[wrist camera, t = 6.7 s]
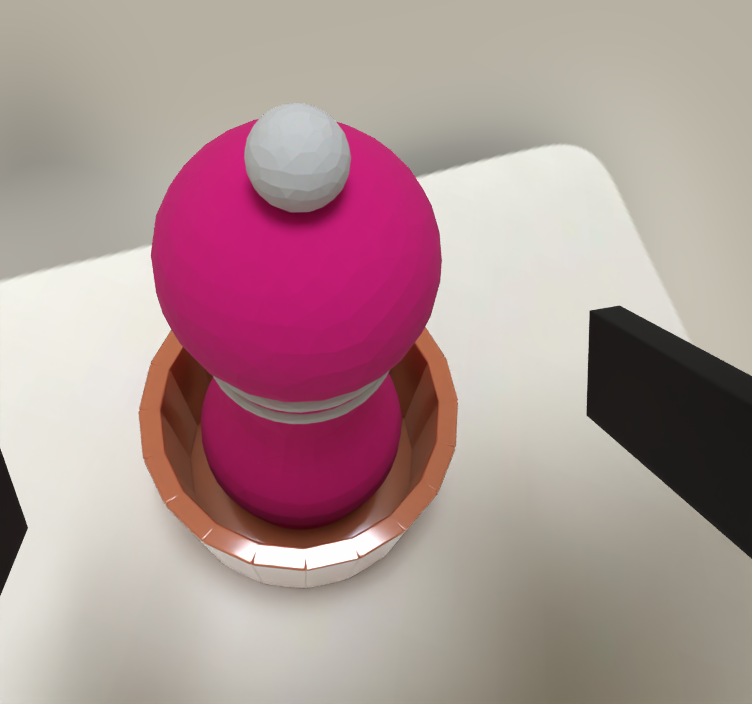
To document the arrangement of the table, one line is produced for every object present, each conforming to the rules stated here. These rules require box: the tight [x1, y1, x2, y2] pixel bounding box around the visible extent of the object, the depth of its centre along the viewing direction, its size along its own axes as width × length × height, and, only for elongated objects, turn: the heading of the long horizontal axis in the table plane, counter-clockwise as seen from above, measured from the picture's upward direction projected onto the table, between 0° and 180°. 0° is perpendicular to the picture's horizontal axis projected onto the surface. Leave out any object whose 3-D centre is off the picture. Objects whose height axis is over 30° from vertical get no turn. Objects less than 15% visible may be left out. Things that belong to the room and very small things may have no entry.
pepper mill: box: [151, 103, 442, 530], centre depth 20 cm, size 7×7×20 cm
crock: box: [139, 327, 458, 588], centre depth 26 cm, size 11×11×7 cm
